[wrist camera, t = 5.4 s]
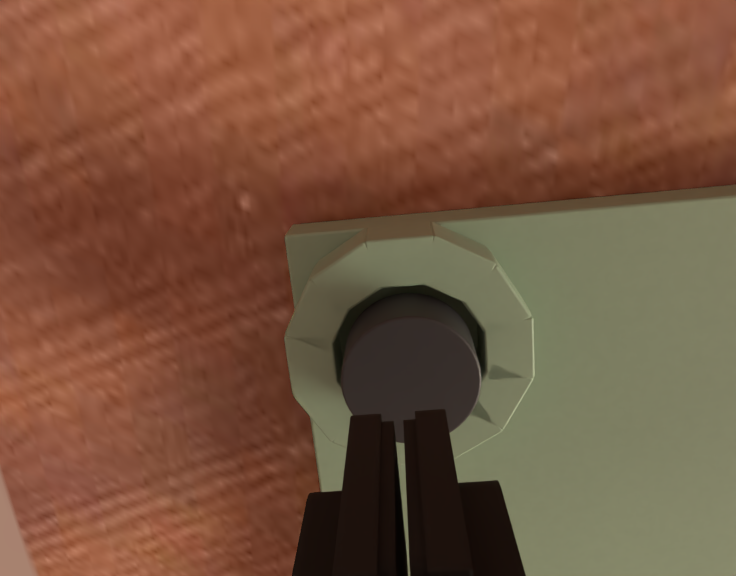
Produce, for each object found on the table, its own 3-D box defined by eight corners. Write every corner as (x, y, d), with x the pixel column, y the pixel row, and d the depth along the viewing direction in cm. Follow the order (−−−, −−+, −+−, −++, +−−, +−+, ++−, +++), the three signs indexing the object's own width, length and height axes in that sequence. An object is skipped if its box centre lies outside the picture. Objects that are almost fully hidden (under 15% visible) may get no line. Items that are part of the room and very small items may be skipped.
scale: (344, 619, 22) (337, 699, 19) (289, 222, 18) (269, 249, 15) (827, 596, 21) (895, 676, 18) (890, 167, 17) (991, 186, 14)
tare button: (353, 412, 17) (348, 449, 15) (339, 297, 16) (333, 322, 14) (476, 404, 17) (485, 440, 15) (469, 286, 16) (478, 311, 14)
